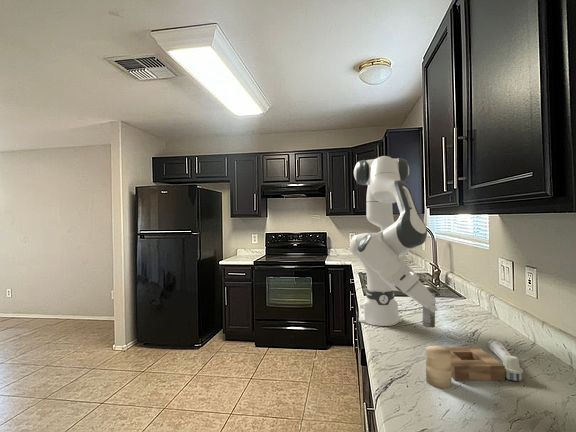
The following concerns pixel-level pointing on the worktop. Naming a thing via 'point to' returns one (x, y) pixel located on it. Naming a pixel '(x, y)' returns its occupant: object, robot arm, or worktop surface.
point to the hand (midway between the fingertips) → (431, 308)
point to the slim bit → (428, 317)
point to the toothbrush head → (506, 360)
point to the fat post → (438, 366)
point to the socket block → (474, 365)
